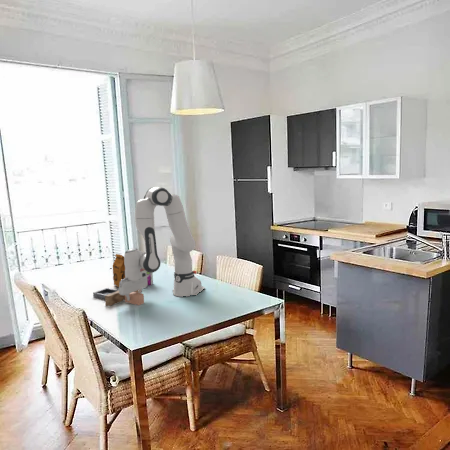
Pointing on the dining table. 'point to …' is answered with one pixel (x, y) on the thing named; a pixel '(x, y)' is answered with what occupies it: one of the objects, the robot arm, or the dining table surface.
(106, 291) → the tray
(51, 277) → the dining table surface
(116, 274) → the coffee package
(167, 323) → the dining table surface
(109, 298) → the walnut board
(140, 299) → the block
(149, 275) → the candy bar box
